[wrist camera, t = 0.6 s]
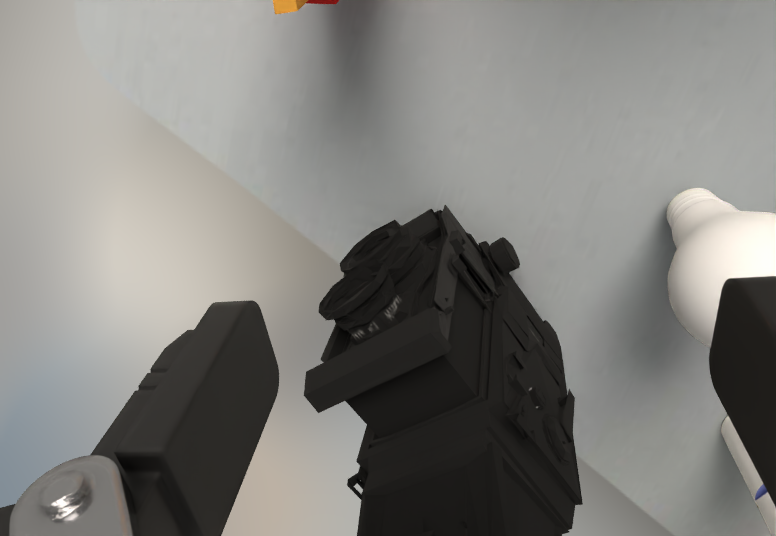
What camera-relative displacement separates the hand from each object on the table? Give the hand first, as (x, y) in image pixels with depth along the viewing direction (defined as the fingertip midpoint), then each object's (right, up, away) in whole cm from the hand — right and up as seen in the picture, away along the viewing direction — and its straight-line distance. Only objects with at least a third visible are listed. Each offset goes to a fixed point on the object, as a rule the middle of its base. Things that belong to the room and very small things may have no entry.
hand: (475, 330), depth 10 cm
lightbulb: (+14, +5, +20) cm, 26 cm away
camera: (+2, 0, +25) cm, 25 cm away
